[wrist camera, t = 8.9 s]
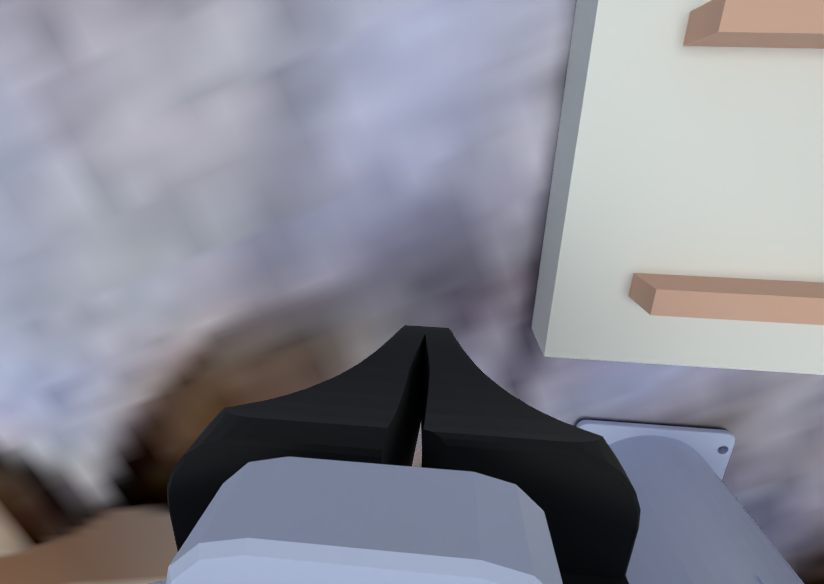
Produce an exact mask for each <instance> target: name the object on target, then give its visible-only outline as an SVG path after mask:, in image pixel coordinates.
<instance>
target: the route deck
mask: <svg viewBox="0 0 824 584" xmlns="http://www.w3.org/2000/svg"><path fill="white" fill-rule="evenodd" d="M531 329H532V331H533V333H534V335H535V338H536V340H537V342H538V345H539V347H540V349H541V351H542V354H543V356H544V357H556V358H572V359H587V360H603V361H618V362H634V363H649V364H664V365H680V366H695V367H711V368H726V369H742V370H757V371H773V372H788V373H804V374H819V375H824V0H577V1H576V8H575V16H574V23H573V30H572V37H571V45H570V52H569V59H568V66H567V73H566V81H565V88H564V95H563V102H562V110H561V117H560V124H559V131H558V139H557V146H556V153H555V160H554V167H553V175H552V182H551V189H550V196H549V204H548V211H547V218H546V225H545V233H544V240H543V247H542V254H541V261H540V269H539V276H538V283H537V290H536V298H535V305H534V312H533V319H532V326H531Z"/></svg>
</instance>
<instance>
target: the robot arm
mask: <svg viewBox="0 0 824 584" xmlns="http://www.w3.org/2000/svg"><path fill="white" fill-rule="evenodd" d="M420 423H421V430H422V467H412V462H413V457H414V452H415V448H416V443H417V438H418V433H419V428H420ZM734 444H735V437H734V436H733V435H732V434H731V433H730V432H729V431H727V430H719V429H705V428H691V427H678V426H664V425H651V424H637V423H623V422H610V421H596V420H582V421H580V422H579V423H578V424H577V426H576V427H575V426H572V425H570V424H567V423H564V422H562V421H559V420H557V419H555V418H553V417H551V416H549V415H546V414H544V413H542V412H540V411H538V410H536V409H534V408H533V407H531V406H529V405H527V404H525V403H524V402H522V401H521V400H519V399H517V398H516V397H514V396H512V395H511V394H509V393H508V392H507V391H505V390H504V389H502V388H501V387H500V386H499V385H497V384H496V383H495V382H494V381H492V380H491V379H490V378H489V377H488V376H486V375H485V374H484V373H483V372H482V371H481V370H480V369H479V368H478V367H477V366H476V365H475V364H474V362H473V361H472V360H471V359H470V358H469V356H468V355H467V354H466V353H465V351H464V350H463V349H462V347H461V346H460V344H459V343H458V341H457V340H456V338H455V337H454V335H453V333H452V332H451V330H450V329H449V328H438V327H422V326H406V325H405V326H404V327H403V328H401V329H400V330H399V331H398V332H397V333H396V334H395V335H394V336H393V337H392V338H391V339H390V340H388V341H387V342H386V343H385V344H384V345H383V346H382V347H380V348H379V349H378V350H377V351H376V352H374V353H373V354H372V355H370V356H369V357H368V358H366V359H365V360H363V361H362V362H361V363H359V364H357V365H356V366H354V367H353V368H351V369H349V370H347V371H345V372H344V373H342V374H340V375H338V376H336V377H334V378H332V379H329V380H327V381H324V382H322V383H320V384H317V385H315V386H312V387H310V388H307V389H304V390H301V391H298V392H295V393H292V394H289V395H285V396H281V397H278V398H274V399H270V400H265V401H260V402H255V403H249V404H244V405H239V406H233V407H226V408H224V409H223V410H222V411H221V412H220V413H219V414H218V415H217V416H216V417H215V418H214V419H213V421H212V422H211V423H210V424H209V425H208V426H207V427H206V429H205V430H204V431H203V432H202V433H201V435H200V436H199V437H198V438H197V440H196V441H195V442H194V443H193V445H192V446H191V447H190V448H189V449H188V451H187V452H186V453H185V454H184V456H183V457H182V458H181V459H180V461H179V462H178V463H177V464H176V466H175V467H174V468H173V470H172V472H171V475H170V478H169V482H168V485H167V498H168V508H169V512H170V517H171V521H172V526H173V531H174V536H175V541H176V545H177V550H178V553H177V555H176V556H175V558H174V559H173V561H172V562H171V564H170V565H169V567H168V574H167V580H166V581H160V582H154V583H149V584H804V583H803V581H802V580H801V579H800V578H799V576H798V575H797V574H796V573H795V571H794V570H793V569H792V568H791V566H790V565H789V564H788V563H787V562H786V560H785V559H784V558H783V557H782V555H781V554H780V553H779V552H778V550H777V549H776V548H775V547H774V545H773V544H772V543H771V542H770V540H769V539H768V538H767V537H766V535H765V534H764V533H763V532H762V530H761V529H760V528H759V527H758V525H757V524H756V523H755V522H754V520H753V519H752V518H751V517H750V515H749V514H748V513H747V512H746V510H745V509H744V508H743V507H742V505H741V504H740V503H739V502H738V500H737V499H736V498H735V497H734V495H733V494H732V493H731V492H730V490H729V489H728V488H727V487H726V485H725V484H724V483H723V482H722V478H723V476H724V473H725V470H726V467H727V464H728V461H729V459H730V456H731V453H732V450H733V447H734ZM721 446H723V447H722V448H720V449H718V448H719V447H721Z"/></svg>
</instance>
